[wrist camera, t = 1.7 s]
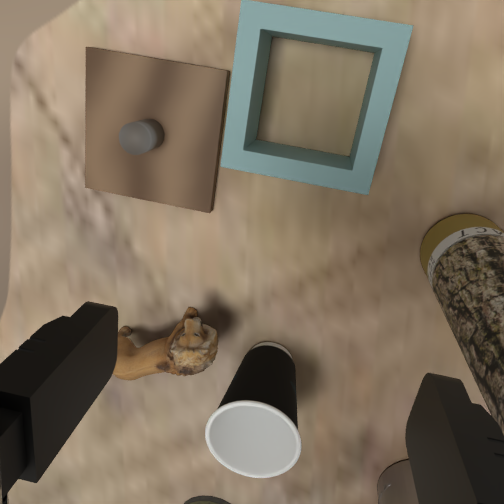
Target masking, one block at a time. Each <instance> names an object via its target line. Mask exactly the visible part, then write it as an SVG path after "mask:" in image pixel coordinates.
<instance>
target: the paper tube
mask: <svg viewBox="0 0 504 504" xmlns="http://www.w3.org/2000/svg"><path fill="white" fill-rule="evenodd" d="M420 260H421V264H422V267H423V269H424V271H425V273H426V275H427V278H428V280H429V282H430V285H431V287H432V289H433V291H434V293H435V295H436V298H437V300H438V302H439V304H440V306H441V308H442V310H443V313H444V315H445V317H446V319H447V321H448V323H449V325H450V328H451V330H452V332H453V334H454V336H455V338H456V340H457V342H458V345H459V347H460V349H461V351H462V353H463V355H464V357H465V360H466V362H467V364H468V366H469V368H470V370H471V372H472V375H473V377H474V379H475V381H476V383H477V385H478V387H479V390H480V392H481V394H482V396H483V398H484V400H485V402H486V404H487V407H488V409H489V411H490V413H491V415H492V417H493V418H494V420H495V421H496V422H497V423H498V425H499V427H500V429H501V431H502V433H503V435H504V232H503V231H502V230H501V229H500V228H499V227H498V226H497V225H495V224H494V223H493V222H492V221H490V220H488V219H486V218H484V217H482V216H478V215H474V214H459V215H454V216H451V217H448V218H445V219H443V220H442V221H440V222H438V223H437V224H436V225H434V226H433V227H432V228H431V229H430V230H429V231H428V233H427V234H426V236H425V237H424V239H423V242H422V245H421V249H420Z"/></svg>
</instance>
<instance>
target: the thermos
mask: <svg viewBox="0 0 504 504" xmlns="http://www.w3.org/2000/svg"><path fill="white" fill-rule="evenodd" d="M184 504H230V503H228V502H226V501H224V500H222V499H219V498H216V497H212V496H198V497H194V498H191V499H189V500H188V501H186V502H185V503H184Z"/></svg>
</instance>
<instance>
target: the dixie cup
mask: <svg viewBox="0 0 504 504" xmlns="http://www.w3.org/2000/svg"><path fill="white" fill-rule="evenodd" d="M205 437H206V442H207V445H208V447H209V449H210V451H211V453H212V454H213V456H214V457H215V458H216V459H217V460H218V461H219V462H220V463H221V464H222V465H224V466H225V467H227V468H228V469H230V470H232V471H233V472H236V473H238V474H241V475H244V476H248V477H254V478H268V477H273V476H277V475H280V474H282V473H284V472H286V471H288V470H289V469H290V468H291V467H293V465H294V464H295V463H296V462H297V460H298V458H299V456H300V453H301V446H302V445H301V437H300V434H299V432H298V422H297V398H296V374H295V365H294V362H293V359H292V356H291V354H290V353H289V352H288V350H287V349H286V348H284V347H283V346H281V345H279V344H277V343H273V342H263V343H259V344H257V345H255V346H254V347H253V348H252V349H251V350H250V351H249V352H248V353H247V354H246V355H245V357H244V359H243V361H242V363H241V365H240V367H239V369H238V370H237V372H236V374H235V376H234V378H233V380H232V382H231V384H230V386H229V388H228V390H227V392H226V394H225V395H224V397H223V399H222V401H221V403H220V405H219V407H218V409H217V410H216V411H215V412H214V413H213V414H212V415H211V417H210V418H209V420H208V422H207V425H206V430H205Z"/></svg>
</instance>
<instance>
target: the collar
mask: <svg viewBox="0 0 504 504" xmlns="http://www.w3.org/2000/svg"><path fill="white" fill-rule="evenodd" d="M412 29H413V25H406V24H400V23H393V22H387V21H380V20H374V19H367V18H361V17H354V16H348V15H341V14H334V13H328V12H321V11H315V10H308V9H302V8H295V7H289V6H282V5H276V4H269V3H263V2H256V1H250V0H241V8H240V16H239V24H238V32H237V40H236V47H235V55H234V63H233V71H232V79H231V87H230V95H229V103H228V111H227V119H226V127H225V135H224V143H223V151H222V159H221V166H220V167H225V168H230V169H235V170H240V171H246V172H251V173H256V174H261V175H266V176H272V177H277V178H282V179H287V180H292V181H298V182H303V183H308V184H313V185H318V186H323V187H329V188H334V189H339V190H344V191H349V192H355V193H360V194H365V195H368V194H369V190H370V186H371V182H372V179H373V175H374V171H375V167H376V164H377V160H378V156H379V152H380V149H381V145H382V141H383V137H384V134H385V130H386V126H387V123H388V119H389V115H390V111H391V108H392V104H393V100H394V96H395V93H396V89H397V85H398V81H399V78H400V74H401V70H402V66H403V63H404V59H405V55H406V51H407V48H408V44H409V40H410V36H411V33H412ZM272 36H273V37H280V38H286V39H292V40H298V41H304V42H311V43H317V44H323V45H329V46H336V47H342V48H348V49H354V50H360V51H367V52H373V53H374V57H373V61H372V66H371V70H370V74H369V78H368V82H367V86H366V90H365V95H364V99H363V103H362V107H361V111H360V115H359V119H358V124H357V128H356V132H355V136H354V140H353V144H352V149H351V153H350V157H348V156H343V155H338V154H332V153H327V152H321V151H316V150H311V149H305V148H300V147H294V146H289V145H284V144H278V143H273V142H267V141H262V140H256V138H257V131H258V125H259V118H260V112H261V105H262V99H263V92H264V86H265V79H266V73H267V66H268V60H269V54H270V47H271V41H272Z"/></svg>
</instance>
